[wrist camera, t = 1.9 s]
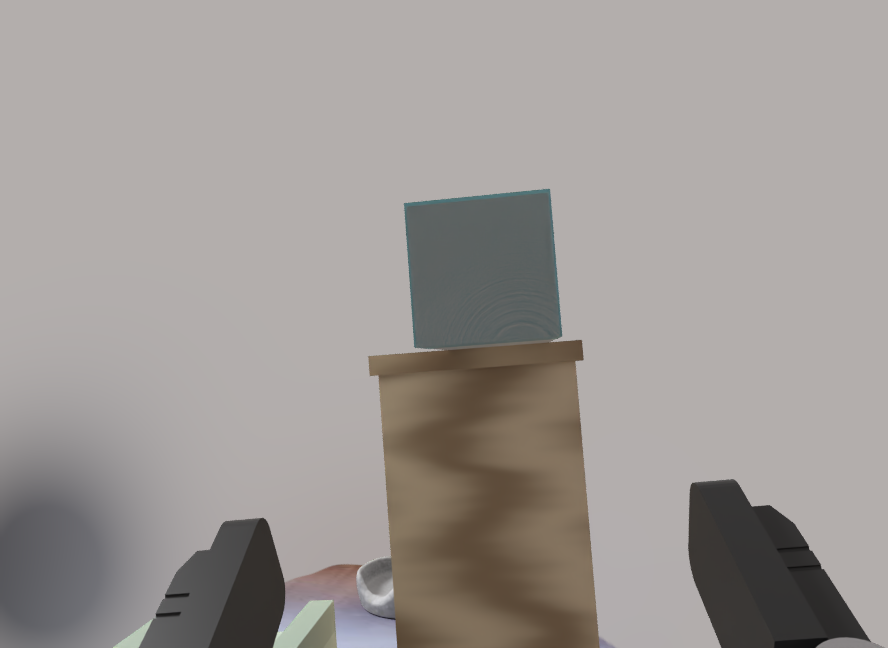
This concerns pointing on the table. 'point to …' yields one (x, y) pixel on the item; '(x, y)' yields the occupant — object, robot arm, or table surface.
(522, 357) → the oak stand
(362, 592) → the dish
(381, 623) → the table surface
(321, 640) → the sage green upright box
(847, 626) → the robot arm
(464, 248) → the white teal square bar
